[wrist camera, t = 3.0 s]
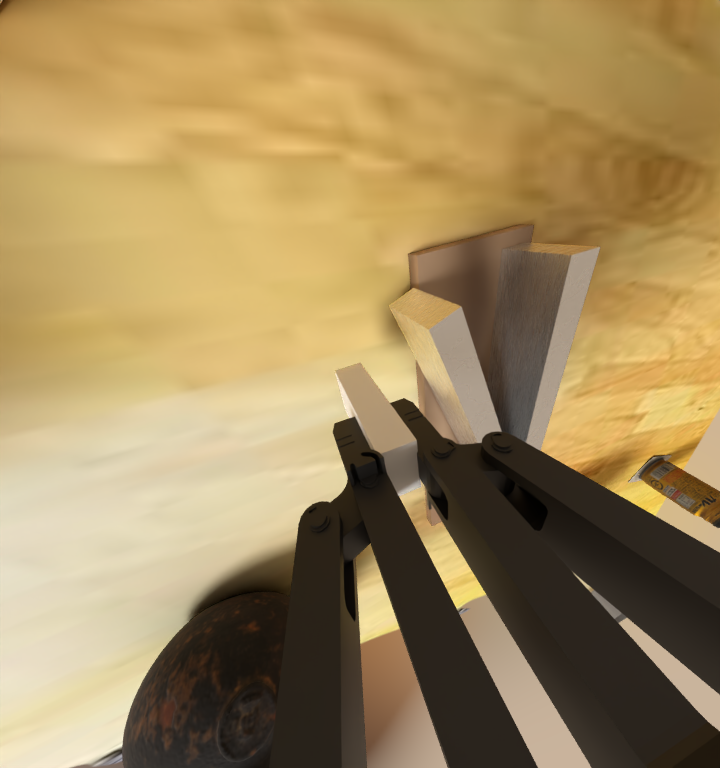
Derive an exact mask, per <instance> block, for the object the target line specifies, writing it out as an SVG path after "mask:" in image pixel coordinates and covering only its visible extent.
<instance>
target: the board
mask: <svg viewBox="0 0 720 768" xmlns="http://www.w3.org/2000/svg"><path fill="white" fill-rule="evenodd" d="M533 228H534V225H517V226H514V227H510V228H506V229H502V230H498V231H494V232H491V233H487V234H483V235H479V236H475V237H472V238H468V239H464V240H460V241H456V242H452V243H449V244H445V245H441V246H437V247H433V248H429V249H426V250H422V251H418V252H414V253H410V254H408V256H409V270H410V284H411V289H412V288H415V289H418V290H420V291H423V292H426V293H428V294H431V295H433V296H436V297H439V298H441V299H444V300H446V301H449V302H451V303H454V304H457V305H459V306H461V307H462V310H463V313H464V316H465V319H466V322H467V325H468V328H469V332H470V335H471V338H472V341H473V344H474V347H475V350H476V353H477V357H478V360H479V363H480V366H481V369H482V372H483V375H484V378H485V382H486V385H487V382H488V373H489V363H490V354H491V345H492V336H493V326H494V317H495V308H496V299H497V289H498V280H499V271H500V261H501V252H502V249H504V248H507V247H511V246H515V245H518V244H522V243H525V242H526V243H531V240H532V234H533ZM416 369H417V383H418V397H419V411H421V413H422V414H423V416H425V417H426V418H427V420H428V421H429V422H430V423H431V424H432V425H433V427H434V428H435V429H436V430H437V431H438V432H439V433H440V435H441V436H442V437H443V438H447V439H450V440H453V441H454V442H455V443H456V444H459V442H458V440H457V438H456V436H455V434H454V433H453V431H452V429H451V427H450V425H449V423H448V421H447V419H446V417H445V415H444V413H443V411H442V409H441V407H440V405H439V403H438V401H437V399H436V397H435V395H434V393H433V392H432V390H431V388H430V386H429V384H428V382H427V380H426V378H425V376H424V374H423V372H422V370H421V368H420V366H419V364H418V362H417V360H416ZM425 495H426V509H427V519H428V520H429V522H430V524H431V526H433V525H435V524H438V523H440V522H442V521H441V519H440V517H439V516H438V514H437V512H436V511H435V509H434V507H433V506H432V504H431V506H432V509H431V510H429V508H428V505H427V494H426V487H425Z"/></svg>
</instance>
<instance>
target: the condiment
mask: <svg viewBox="0 0 720 768" xmlns="http://www.w3.org/2000/svg"><path fill="white" fill-rule="evenodd" d="M671 456H672V455H667V456H657V457H653V458H652V459H651V460H649V461H648V462H647V463H646V464H645V465H644V466H643V467H642V468H641V469H640V470H639V471H637V473H636V474H635V476H633V477H632V479H631V480H630V481H629V482H636V481H641V480H643V481H644V482H645V483H646V484H648V485H649V486H651V487H652V488H654V489H655V490H657V491H658V492H660V493H661V494H662V495H664V496H666V497H667V498H669V499H670V500H672V501H673V502H675V503H677V504H678V505H680V506H681V507H682V508H684V509H686V510H687V511H689V512H690V513H692V514H693V515H696V516H699V517H702V518H703V519H704V520H706V521H708V522H710V523H711V524H713V526H716V527H717V528H720V491H718V490H716V489H715V488H713V487H711V486H710V485H708V484H706V483H704V482H703V481H701V480H699V479H697V478H696V477H694V476H692V475H691V474H688V473H687V472H685V471H684V470H682V469H680V468H678V467H677V466H675V465H673V464H671V463H670V462H668V461H667V460H668V459H669V458H670V457H671ZM629 482H628V483H629Z"/></svg>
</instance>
